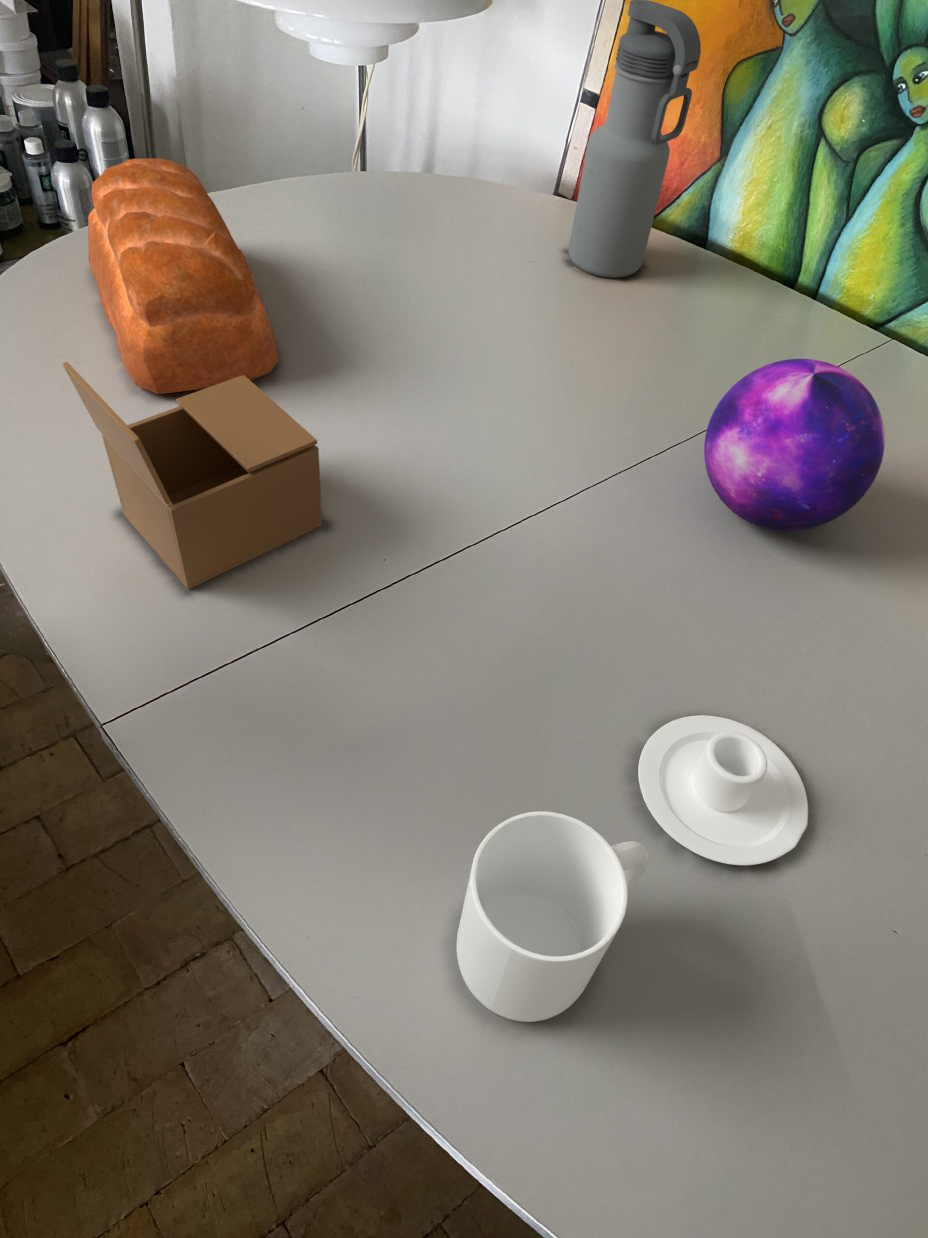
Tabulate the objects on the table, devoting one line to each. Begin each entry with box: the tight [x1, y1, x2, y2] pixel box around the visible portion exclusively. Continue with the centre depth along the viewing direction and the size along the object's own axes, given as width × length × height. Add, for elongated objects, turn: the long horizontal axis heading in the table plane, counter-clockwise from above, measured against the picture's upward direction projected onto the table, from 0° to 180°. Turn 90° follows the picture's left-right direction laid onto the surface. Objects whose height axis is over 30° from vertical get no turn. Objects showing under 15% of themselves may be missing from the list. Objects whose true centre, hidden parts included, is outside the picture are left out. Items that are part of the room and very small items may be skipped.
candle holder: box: [637, 714, 809, 866], centre depth 60 cm, size 12×12×4 cm
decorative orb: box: [703, 358, 886, 532], centre depth 78 cm, size 15×15×15 cm
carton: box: [101, 375, 323, 590], centre depth 72 cm, size 13×11×9 cm
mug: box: [456, 810, 649, 1023], centre depth 50 cm, size 12×8×10 cm
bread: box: [87, 157, 280, 395], centre depth 92 cm, size 16×31×13 cm, turn 24°
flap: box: [61, 361, 171, 504], centre depth 63 cm, size 6×11×1 cm
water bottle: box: [568, 0, 702, 279], centre depth 103 cm, size 10×10×28 cm
